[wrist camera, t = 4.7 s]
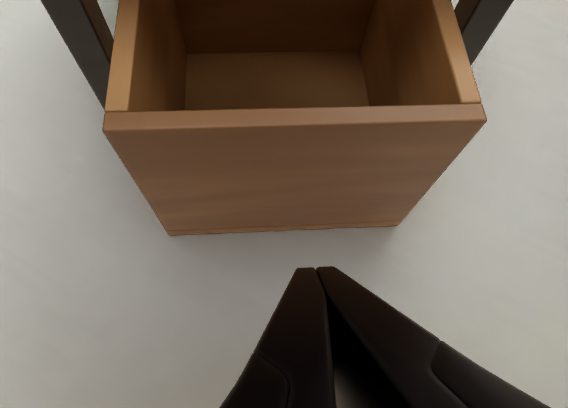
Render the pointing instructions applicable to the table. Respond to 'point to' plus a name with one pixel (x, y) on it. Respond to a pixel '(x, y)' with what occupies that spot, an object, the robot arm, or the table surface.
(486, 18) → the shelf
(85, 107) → the table surface
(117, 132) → the wood grain slab box
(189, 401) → the table surface
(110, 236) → the table surface
